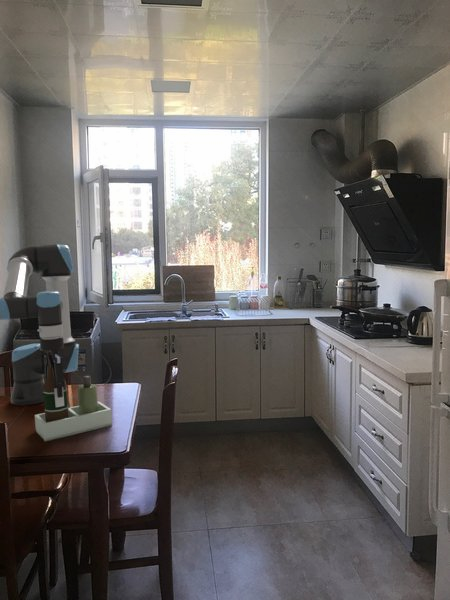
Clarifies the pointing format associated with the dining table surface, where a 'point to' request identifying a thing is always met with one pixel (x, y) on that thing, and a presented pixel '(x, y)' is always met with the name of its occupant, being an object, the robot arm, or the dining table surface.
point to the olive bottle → (87, 397)
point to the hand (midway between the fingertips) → (56, 403)
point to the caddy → (73, 423)
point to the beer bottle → (53, 399)
